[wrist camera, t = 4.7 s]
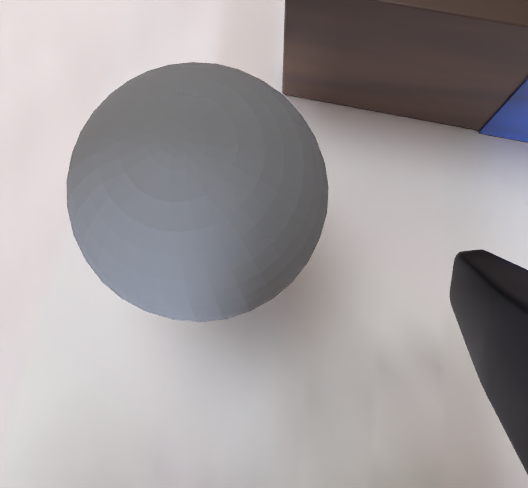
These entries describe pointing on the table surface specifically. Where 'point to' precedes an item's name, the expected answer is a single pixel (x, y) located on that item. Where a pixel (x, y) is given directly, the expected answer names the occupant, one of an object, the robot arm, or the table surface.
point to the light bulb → (197, 192)
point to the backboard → (414, 59)
